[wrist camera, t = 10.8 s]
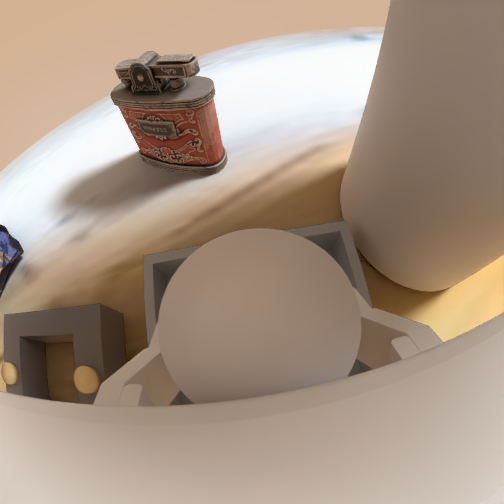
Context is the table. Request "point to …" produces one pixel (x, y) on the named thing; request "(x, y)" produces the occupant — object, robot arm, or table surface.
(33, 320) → the block
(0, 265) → the snack package
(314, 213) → the table surface
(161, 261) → the tray
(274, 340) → the ball
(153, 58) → the lighter
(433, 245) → the cylinder vase
